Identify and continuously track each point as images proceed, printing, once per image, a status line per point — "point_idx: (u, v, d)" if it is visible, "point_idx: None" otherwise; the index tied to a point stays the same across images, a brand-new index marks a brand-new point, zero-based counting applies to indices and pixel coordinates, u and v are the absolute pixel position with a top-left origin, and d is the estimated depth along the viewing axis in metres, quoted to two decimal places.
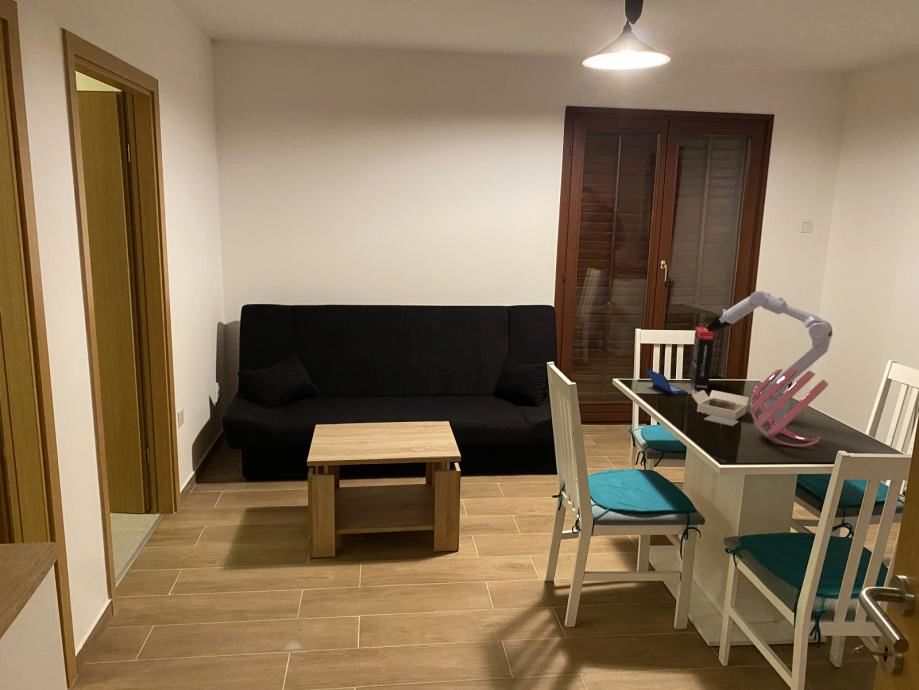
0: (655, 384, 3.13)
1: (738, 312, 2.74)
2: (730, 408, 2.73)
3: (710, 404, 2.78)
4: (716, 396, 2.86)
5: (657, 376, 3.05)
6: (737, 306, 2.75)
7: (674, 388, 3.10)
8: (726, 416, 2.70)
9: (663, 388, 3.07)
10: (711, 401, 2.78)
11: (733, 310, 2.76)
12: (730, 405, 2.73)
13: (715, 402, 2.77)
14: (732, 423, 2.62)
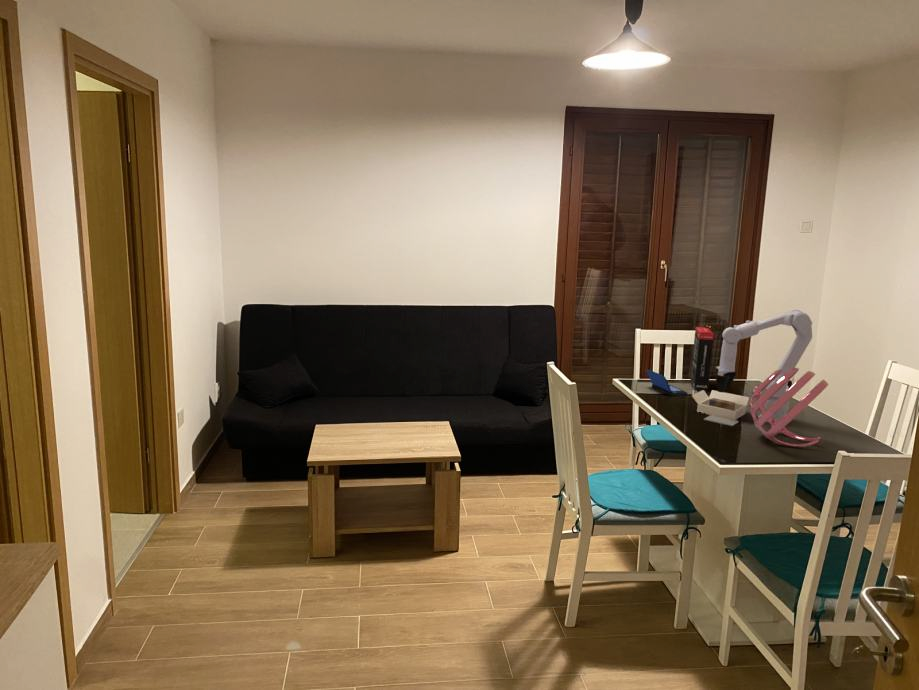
0: (654, 384, 3.12)
1: (730, 358, 2.71)
2: (730, 408, 2.73)
3: (710, 404, 2.78)
4: (716, 396, 2.86)
5: (656, 376, 3.05)
6: (724, 355, 2.72)
7: (673, 388, 3.10)
8: (726, 416, 2.70)
9: (662, 388, 3.06)
10: (711, 401, 2.78)
11: (722, 360, 2.73)
12: (730, 405, 2.73)
13: (715, 402, 2.77)
14: (732, 423, 2.62)
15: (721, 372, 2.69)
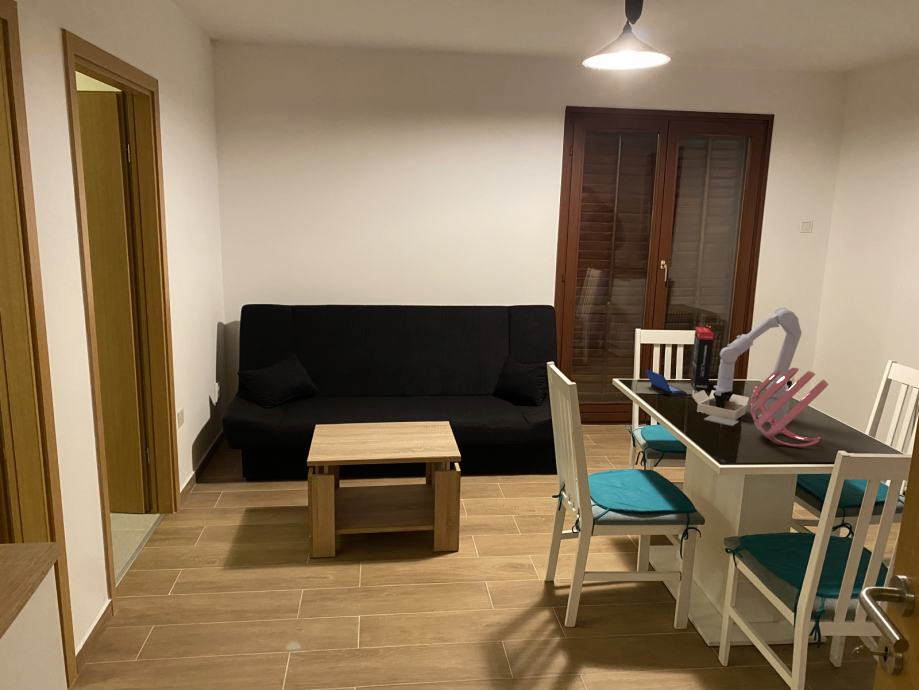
0: (654, 384, 3.12)
1: (728, 378, 2.72)
2: (730, 408, 2.73)
3: (710, 404, 2.78)
4: None
5: (656, 376, 3.05)
6: (722, 375, 2.73)
7: (673, 388, 3.10)
8: (726, 416, 2.70)
9: (662, 388, 3.06)
10: (711, 401, 2.78)
11: (720, 379, 2.74)
12: (730, 405, 2.73)
13: (715, 402, 2.77)
14: (732, 423, 2.62)
15: (719, 392, 2.70)
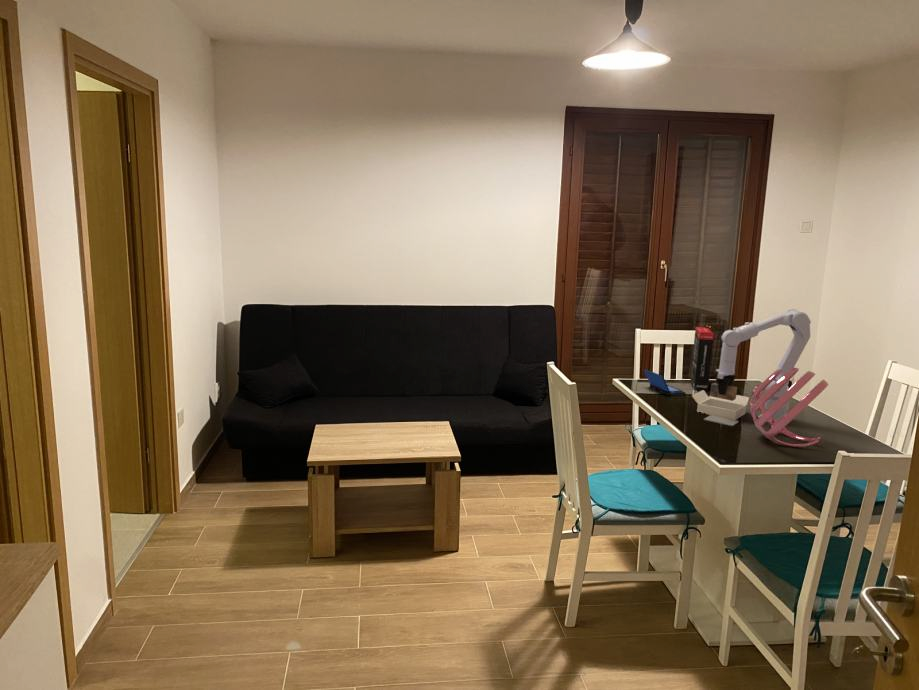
0: (652, 384, 3.12)
1: (731, 361, 2.69)
2: (732, 392, 2.70)
3: (712, 389, 2.75)
4: None
5: (655, 376, 3.05)
6: (725, 358, 2.70)
7: (671, 388, 3.10)
8: (726, 416, 2.70)
9: (661, 388, 3.06)
10: (713, 385, 2.75)
11: (722, 363, 2.71)
12: (732, 389, 2.70)
13: (717, 386, 2.74)
14: (732, 423, 2.62)
15: (721, 375, 2.67)
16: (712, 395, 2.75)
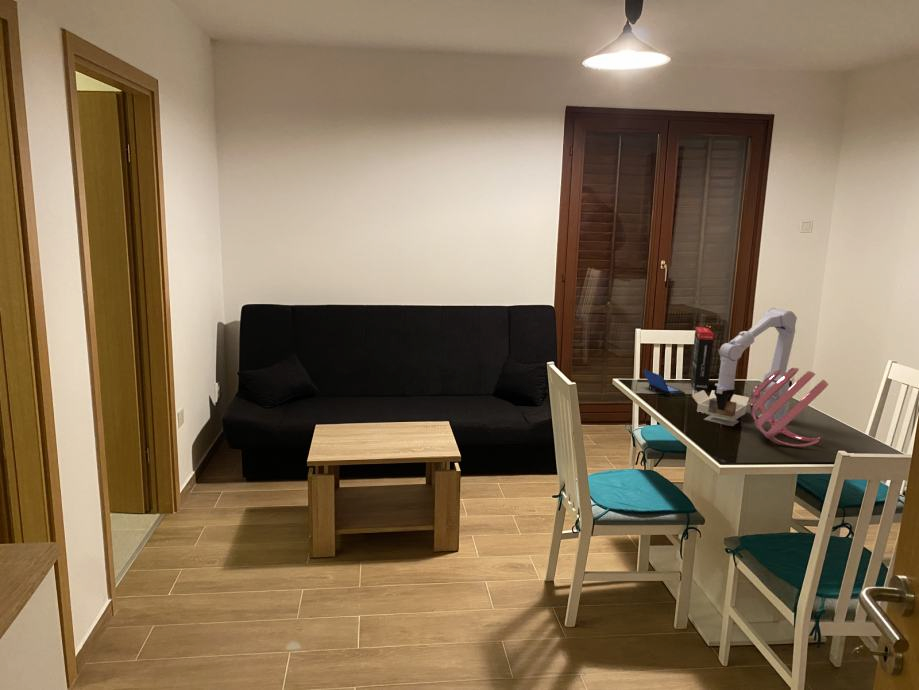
0: (651, 384, 3.12)
1: (733, 375, 2.60)
2: (731, 408, 2.61)
3: (710, 404, 2.66)
4: None
5: (654, 376, 3.05)
6: (728, 373, 2.60)
7: (671, 388, 3.10)
8: (726, 416, 2.70)
9: (660, 388, 3.06)
10: (711, 401, 2.66)
11: (721, 377, 2.62)
12: (731, 405, 2.61)
13: (715, 402, 2.65)
14: (732, 423, 2.62)
15: (720, 390, 2.58)
16: (710, 411, 2.66)
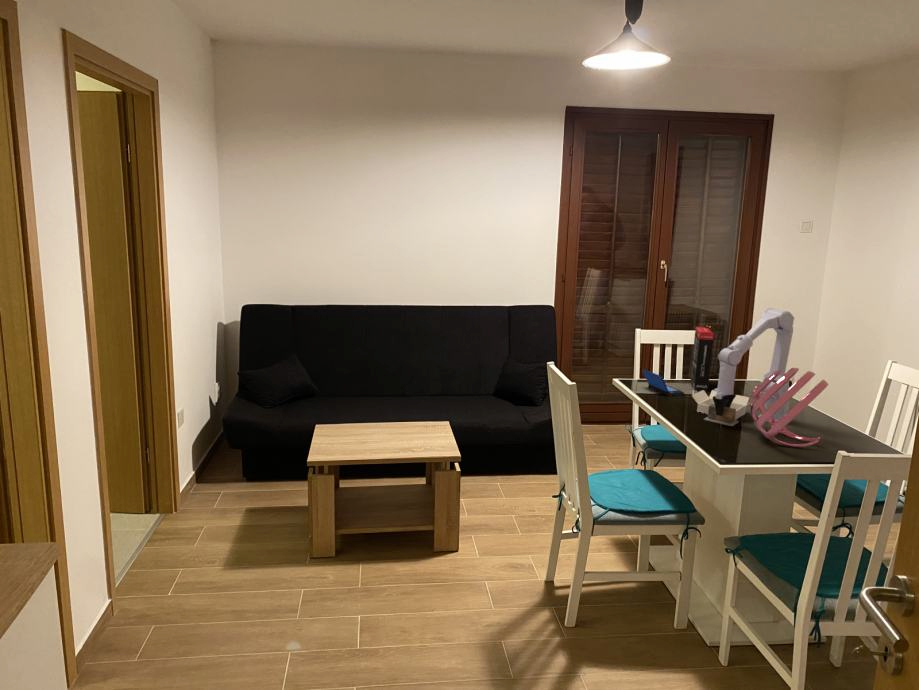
0: (651, 384, 3.12)
1: (732, 380, 2.61)
2: (730, 415, 2.62)
3: (709, 411, 2.67)
4: None
5: (653, 376, 3.04)
6: (727, 378, 2.60)
7: (670, 388, 3.10)
8: None
9: (659, 388, 3.06)
10: (710, 407, 2.66)
11: (721, 382, 2.62)
12: (730, 412, 2.62)
13: None
14: (732, 423, 2.62)
15: (719, 395, 2.58)
16: (710, 417, 2.67)
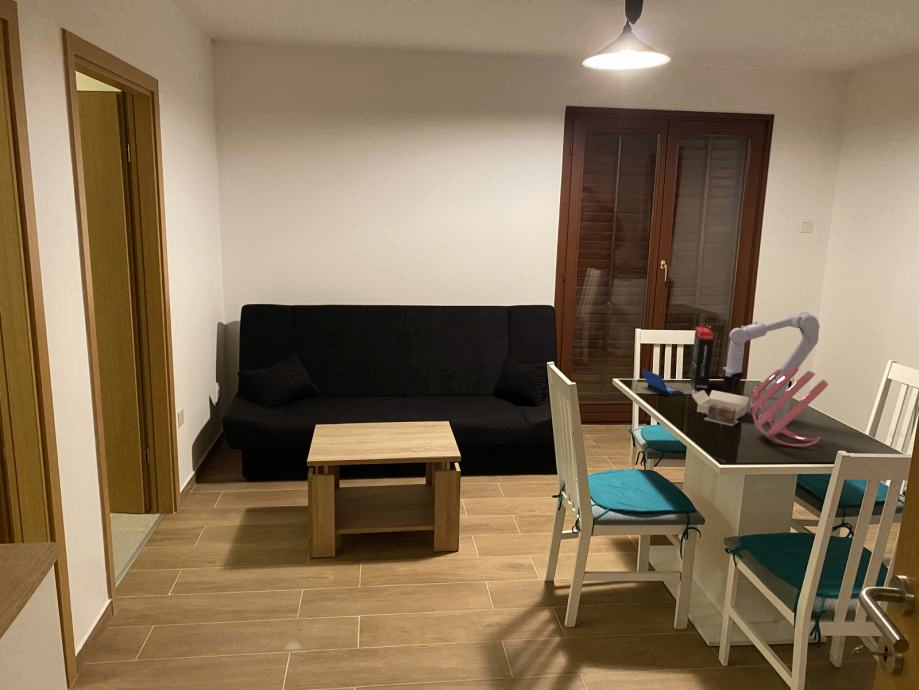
0: (650, 384, 3.12)
1: (737, 359, 2.71)
2: (730, 415, 2.62)
3: (709, 411, 2.67)
4: (716, 396, 2.86)
5: (653, 376, 3.04)
6: (731, 356, 2.71)
7: (669, 388, 3.10)
8: None
9: (659, 388, 3.06)
10: (710, 407, 2.66)
11: (730, 361, 2.72)
12: (730, 412, 2.62)
13: (715, 408, 2.65)
14: (732, 423, 2.62)
15: (729, 373, 2.68)
16: (710, 417, 2.67)
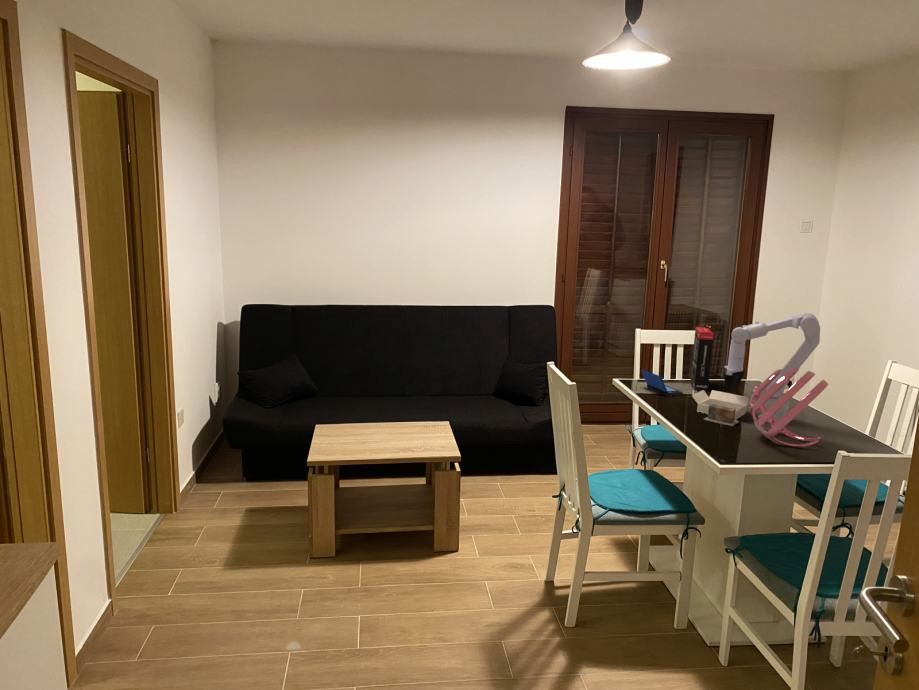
0: (649, 384, 3.12)
1: (737, 357, 2.73)
2: (730, 415, 2.62)
3: (709, 411, 2.67)
4: (716, 396, 2.86)
5: (652, 376, 3.04)
6: (732, 354, 2.74)
7: (668, 388, 3.09)
8: None
9: (658, 388, 3.06)
10: (710, 407, 2.66)
11: (731, 359, 2.74)
12: (730, 412, 2.62)
13: (715, 408, 2.65)
14: (732, 423, 2.62)
15: (729, 371, 2.71)
16: (710, 417, 2.67)
